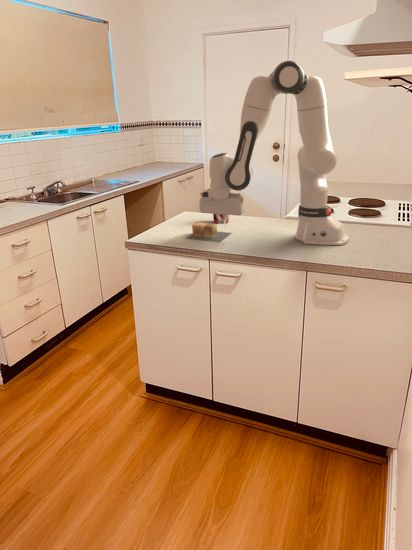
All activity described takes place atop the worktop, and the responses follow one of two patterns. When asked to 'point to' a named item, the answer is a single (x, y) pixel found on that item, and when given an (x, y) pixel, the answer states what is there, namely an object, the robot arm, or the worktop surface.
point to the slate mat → (217, 238)
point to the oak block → (204, 230)
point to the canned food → (220, 217)
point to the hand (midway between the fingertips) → (222, 223)
